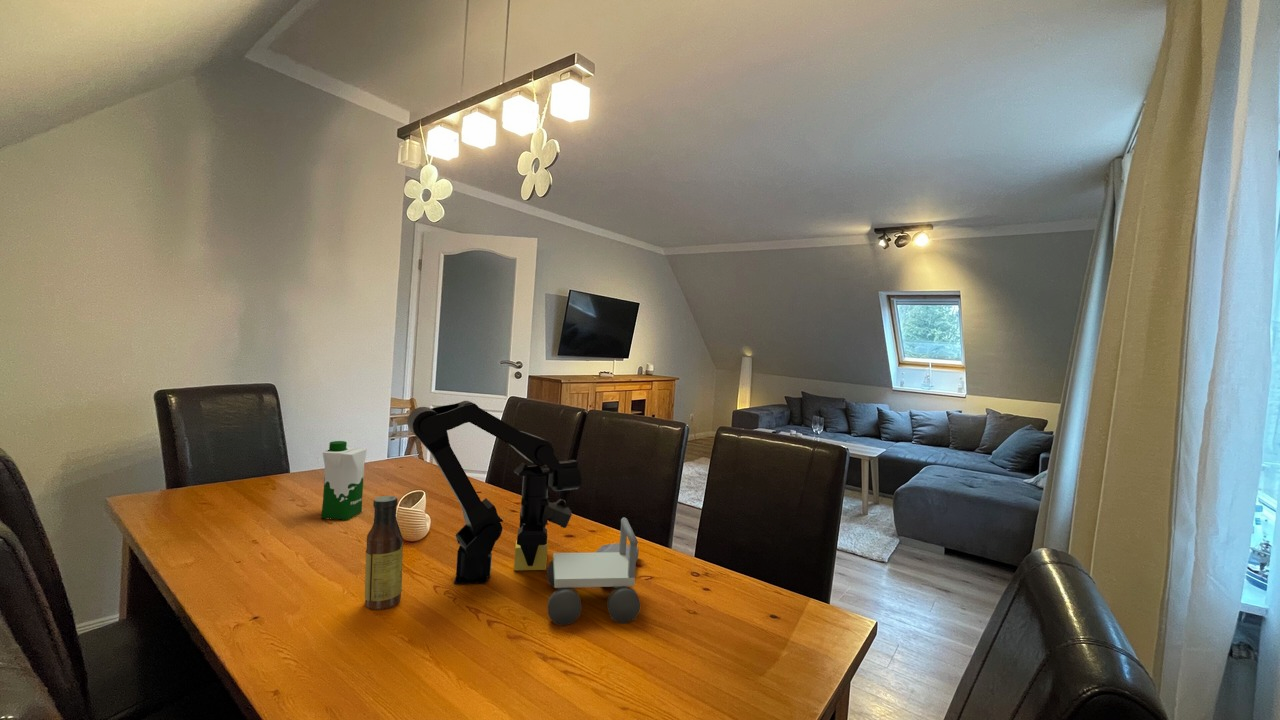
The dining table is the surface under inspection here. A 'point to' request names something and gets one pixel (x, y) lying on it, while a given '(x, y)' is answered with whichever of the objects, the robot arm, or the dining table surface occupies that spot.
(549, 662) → the dining table surface
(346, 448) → the milk carton
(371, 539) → the sauce bottle
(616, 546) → the stone block
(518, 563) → the chock
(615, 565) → the trolley
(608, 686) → the dining table surface
